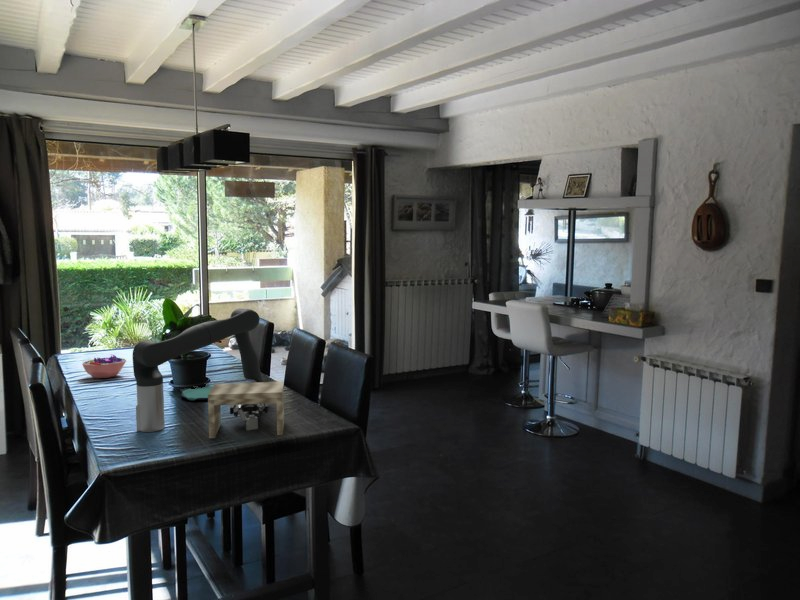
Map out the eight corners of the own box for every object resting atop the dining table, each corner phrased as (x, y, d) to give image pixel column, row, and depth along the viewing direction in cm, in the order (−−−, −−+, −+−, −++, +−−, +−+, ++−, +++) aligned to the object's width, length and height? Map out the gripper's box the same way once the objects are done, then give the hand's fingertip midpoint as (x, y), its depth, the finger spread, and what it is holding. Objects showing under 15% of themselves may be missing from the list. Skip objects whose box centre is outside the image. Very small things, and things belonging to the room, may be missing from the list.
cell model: (83, 375, 314) (82, 353, 313) (126, 372, 322) (125, 350, 321) (82, 382, 299) (81, 360, 297) (127, 379, 307) (126, 356, 306)
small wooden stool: (209, 438, 220) (207, 394, 219) (215, 424, 236) (214, 383, 234) (282, 434, 224) (282, 392, 223) (284, 421, 240) (283, 381, 238)
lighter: (256, 427, 233) (256, 406, 232) (258, 428, 232) (257, 407, 231) (238, 430, 229) (237, 409, 228) (239, 431, 228) (239, 410, 227)
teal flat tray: (186, 405, 263) (186, 399, 263) (173, 389, 289) (172, 384, 289) (232, 399, 273) (232, 394, 273) (215, 384, 299) (215, 379, 299)
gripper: (233, 393, 244) (228, 404, 228) (269, 392, 246) (267, 403, 230) (233, 411, 245) (228, 424, 229) (269, 410, 247) (267, 422, 231)
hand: (248, 413), depth 230 cm, fingers open, 8 cm apart
